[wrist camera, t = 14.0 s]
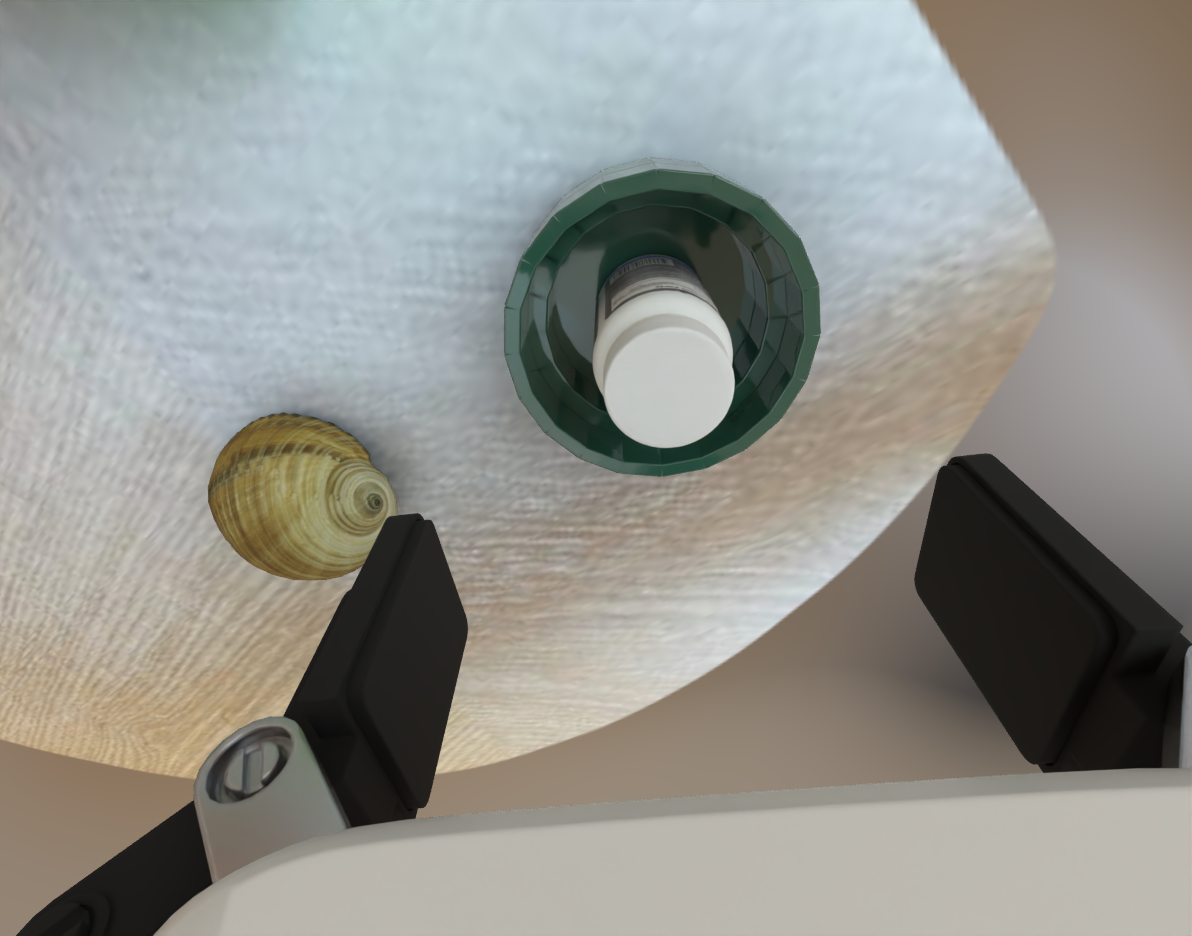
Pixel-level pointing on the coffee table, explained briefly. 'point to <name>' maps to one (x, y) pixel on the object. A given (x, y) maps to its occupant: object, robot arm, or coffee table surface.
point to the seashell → (299, 497)
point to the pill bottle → (661, 353)
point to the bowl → (724, 265)
